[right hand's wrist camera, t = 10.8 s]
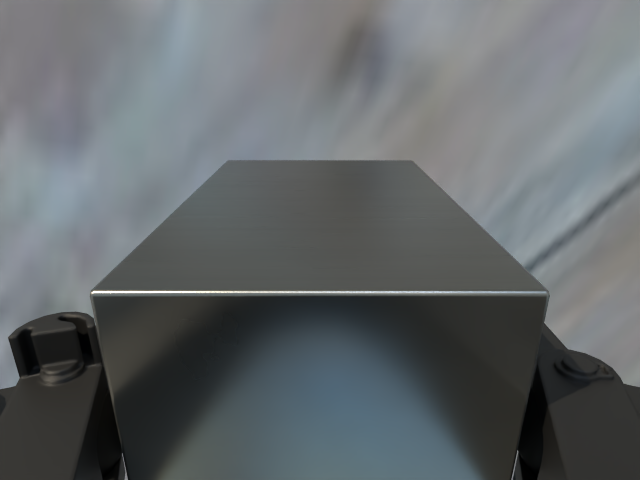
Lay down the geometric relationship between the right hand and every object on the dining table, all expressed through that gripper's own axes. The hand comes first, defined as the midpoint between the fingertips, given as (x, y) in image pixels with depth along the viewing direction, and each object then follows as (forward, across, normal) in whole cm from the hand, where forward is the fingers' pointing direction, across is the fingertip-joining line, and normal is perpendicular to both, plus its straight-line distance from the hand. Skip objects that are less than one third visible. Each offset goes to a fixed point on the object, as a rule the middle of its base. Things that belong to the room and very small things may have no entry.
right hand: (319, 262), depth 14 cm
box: (+1, 0, -8) cm, 8 cm away
